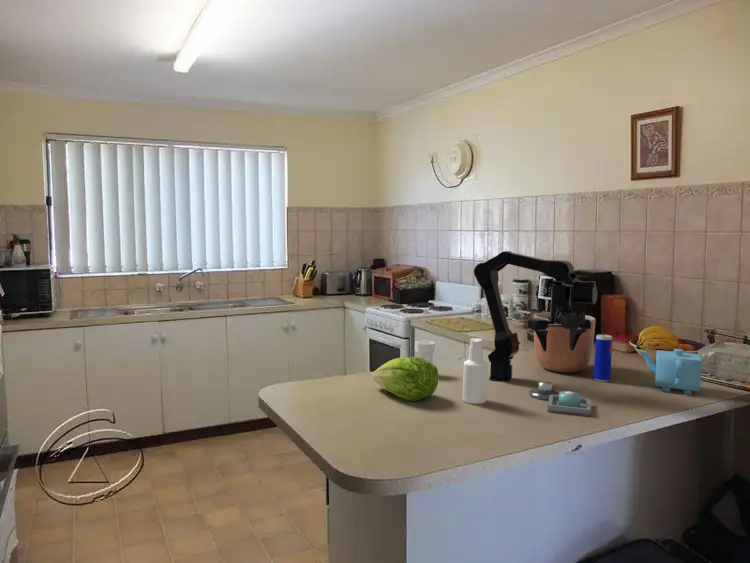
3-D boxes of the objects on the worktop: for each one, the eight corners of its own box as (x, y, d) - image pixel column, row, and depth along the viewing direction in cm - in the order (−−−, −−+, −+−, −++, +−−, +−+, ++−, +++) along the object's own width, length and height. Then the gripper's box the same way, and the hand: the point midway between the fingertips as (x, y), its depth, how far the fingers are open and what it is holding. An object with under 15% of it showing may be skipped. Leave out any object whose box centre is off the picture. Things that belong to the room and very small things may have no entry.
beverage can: (611, 382, 193) (614, 337, 191) (594, 381, 194) (597, 336, 192) (608, 378, 198) (611, 334, 196) (592, 377, 199) (594, 333, 197)
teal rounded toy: (554, 403, 166) (555, 390, 166) (573, 402, 167) (573, 389, 167) (566, 410, 160) (567, 396, 159) (585, 410, 161) (586, 396, 161)
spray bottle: (487, 398, 172) (490, 338, 170) (484, 405, 165) (486, 342, 164) (464, 396, 174) (466, 336, 172) (460, 402, 168) (462, 340, 166)
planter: (568, 360, 223) (570, 311, 222) (605, 374, 204) (608, 320, 202) (520, 364, 217) (522, 313, 215) (554, 378, 197) (557, 322, 195)
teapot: (696, 386, 190) (699, 347, 189) (700, 398, 176) (703, 356, 175) (635, 379, 198) (637, 341, 196) (634, 390, 184) (637, 350, 182)
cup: (411, 375, 197) (412, 343, 196) (417, 371, 203) (418, 339, 202) (430, 377, 195) (431, 345, 194) (436, 373, 201) (437, 341, 200)
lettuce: (393, 364, 188) (367, 346, 180) (450, 368, 173) (425, 349, 165) (381, 402, 183) (354, 386, 175) (439, 410, 168) (412, 392, 160)
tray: (547, 411, 161) (547, 405, 161) (549, 400, 171) (549, 394, 171) (590, 416, 157) (590, 410, 157) (589, 405, 168) (589, 398, 167)
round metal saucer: (528, 398, 173) (528, 385, 173) (530, 390, 182) (531, 377, 181) (560, 401, 170) (560, 388, 170) (560, 393, 179) (561, 380, 178)
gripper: (545, 305, 172) (542, 357, 173) (602, 304, 176) (600, 355, 177) (528, 300, 183) (526, 349, 184) (582, 299, 186) (580, 348, 188)
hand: (558, 350), depth 183 cm, fingers open, 9 cm apart
